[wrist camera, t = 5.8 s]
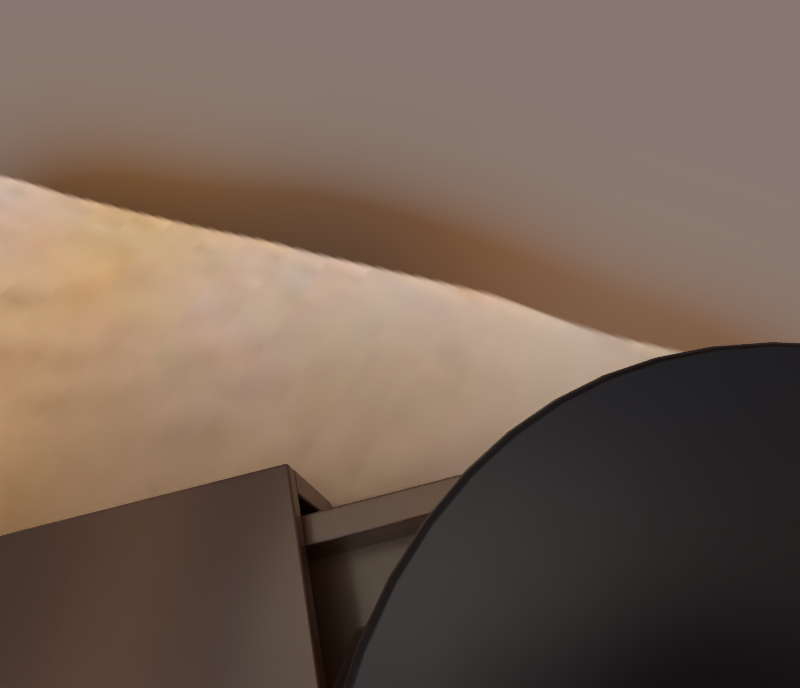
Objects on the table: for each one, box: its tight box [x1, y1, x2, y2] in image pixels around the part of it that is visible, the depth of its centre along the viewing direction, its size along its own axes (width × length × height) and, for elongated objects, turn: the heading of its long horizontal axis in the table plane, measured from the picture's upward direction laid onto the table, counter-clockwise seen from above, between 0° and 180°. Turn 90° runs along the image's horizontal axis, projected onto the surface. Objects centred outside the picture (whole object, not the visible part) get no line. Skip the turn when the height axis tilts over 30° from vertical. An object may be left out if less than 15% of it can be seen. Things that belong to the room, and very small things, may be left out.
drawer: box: [301, 475, 461, 688], centre depth 14 cm, size 20×10×5 cm, turn 104°
